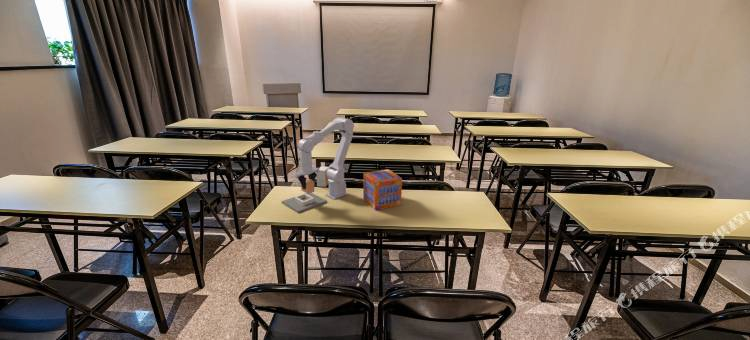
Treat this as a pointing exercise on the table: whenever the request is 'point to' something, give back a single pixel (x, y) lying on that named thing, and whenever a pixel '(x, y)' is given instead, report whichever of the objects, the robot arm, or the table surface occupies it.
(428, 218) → the table surface
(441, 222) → the table surface
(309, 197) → the keyed socket
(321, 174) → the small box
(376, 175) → the game box
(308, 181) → the keyed peg
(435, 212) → the table surface
